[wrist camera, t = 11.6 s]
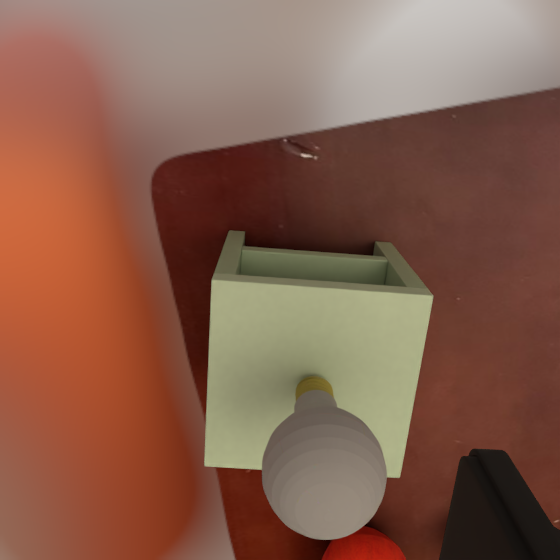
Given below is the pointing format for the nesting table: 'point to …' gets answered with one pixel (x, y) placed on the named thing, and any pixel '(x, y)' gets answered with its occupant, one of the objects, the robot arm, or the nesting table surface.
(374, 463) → the light bulb
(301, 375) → the sage green cube
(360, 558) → the apple
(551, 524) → the robot arm
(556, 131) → the nesting table surface
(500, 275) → the nesting table surface
